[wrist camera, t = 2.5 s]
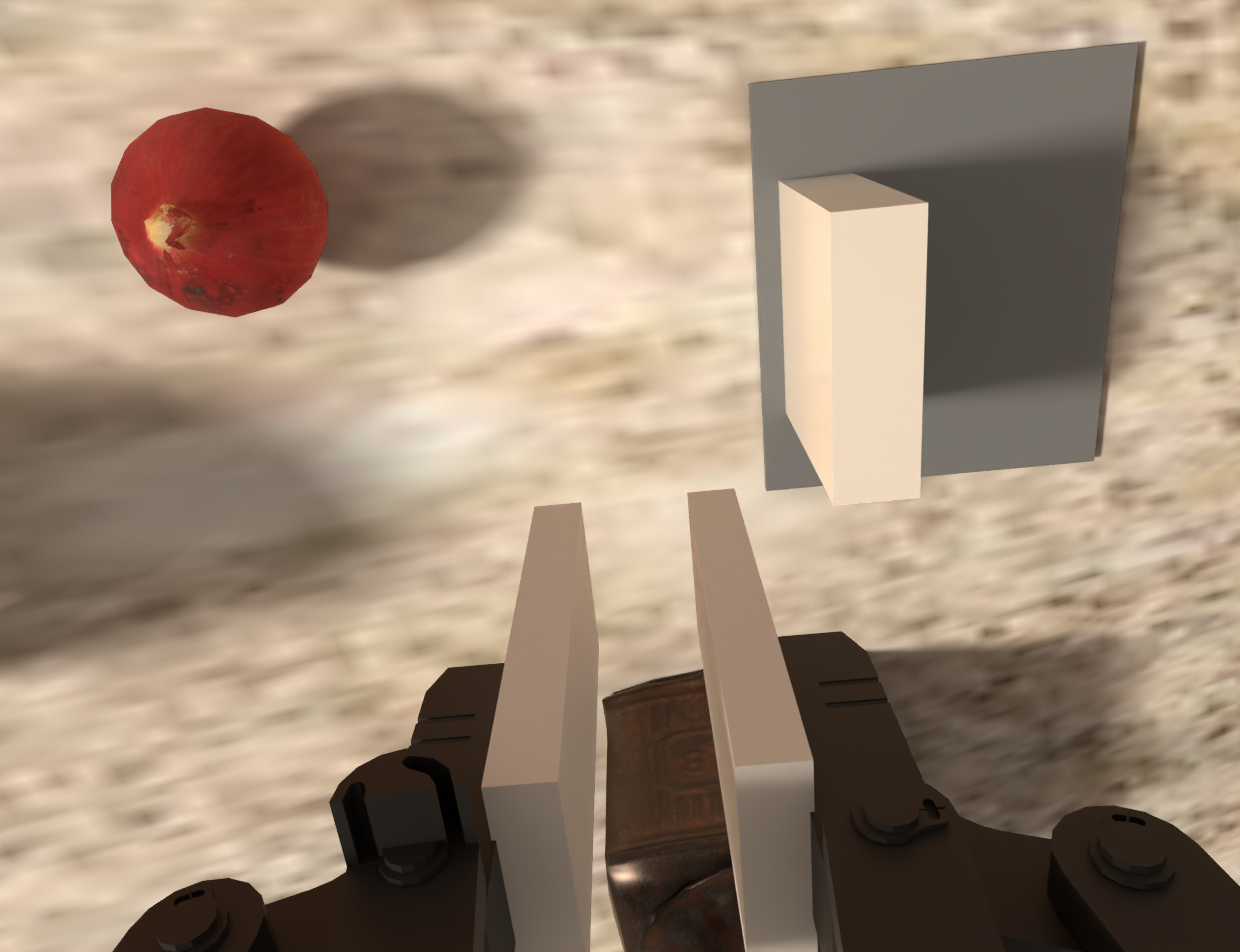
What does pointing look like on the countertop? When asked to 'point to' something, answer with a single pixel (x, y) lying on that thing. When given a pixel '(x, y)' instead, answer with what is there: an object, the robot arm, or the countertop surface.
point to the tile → (855, 332)
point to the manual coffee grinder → (668, 822)
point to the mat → (969, 240)
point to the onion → (219, 211)
